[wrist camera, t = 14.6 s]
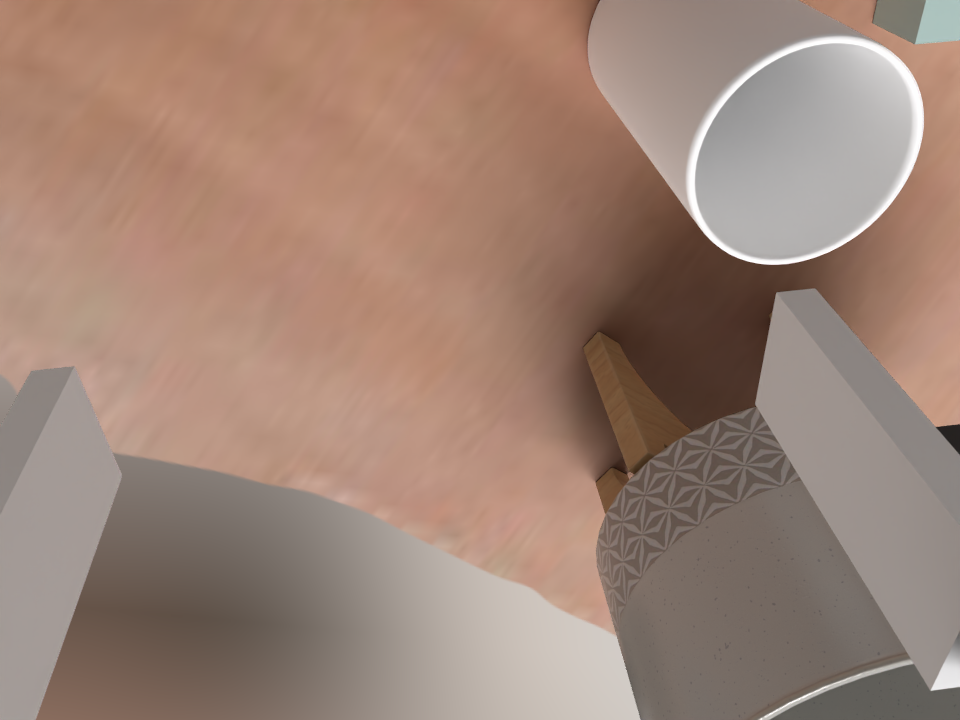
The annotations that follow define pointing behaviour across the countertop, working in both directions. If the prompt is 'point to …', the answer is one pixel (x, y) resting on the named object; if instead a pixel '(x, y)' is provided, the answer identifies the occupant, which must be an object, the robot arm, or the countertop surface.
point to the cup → (761, 117)
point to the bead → (920, 19)
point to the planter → (735, 576)
